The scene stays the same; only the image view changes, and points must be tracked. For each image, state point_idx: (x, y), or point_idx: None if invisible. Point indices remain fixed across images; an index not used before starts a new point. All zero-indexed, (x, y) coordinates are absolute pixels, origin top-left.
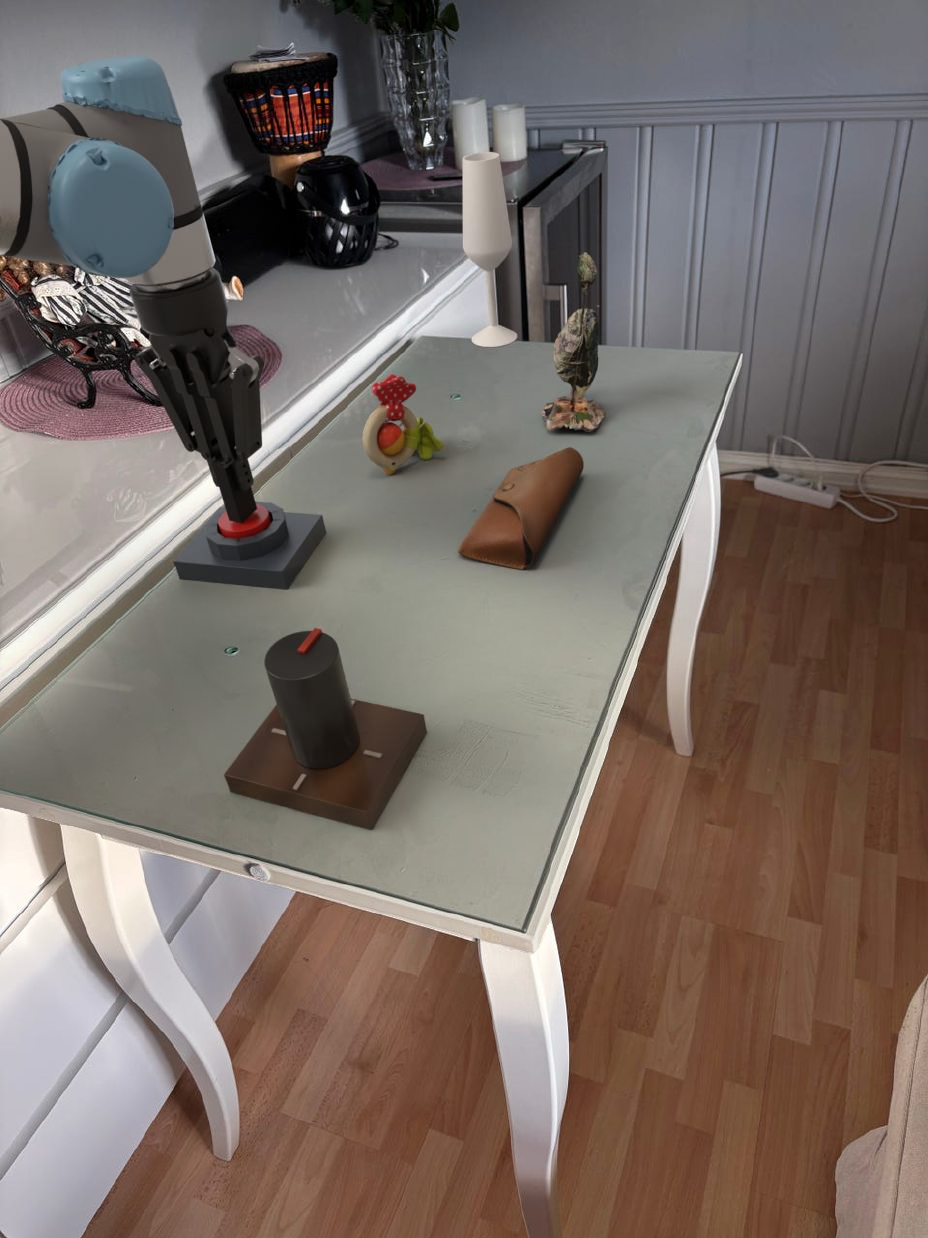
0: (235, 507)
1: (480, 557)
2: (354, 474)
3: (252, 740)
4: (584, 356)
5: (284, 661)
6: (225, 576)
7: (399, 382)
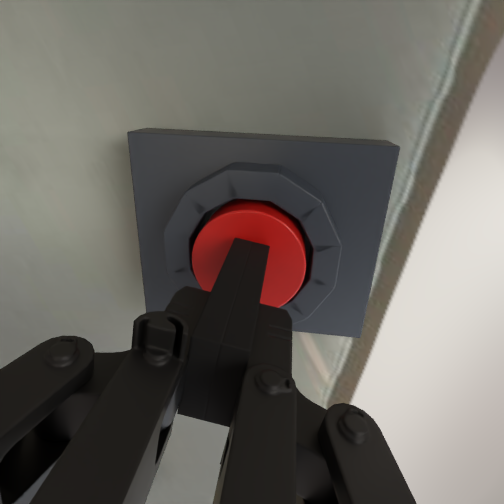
0: (231, 255)
1: None
2: (188, 429)
3: None
4: None
5: None
6: (272, 136)
7: None
